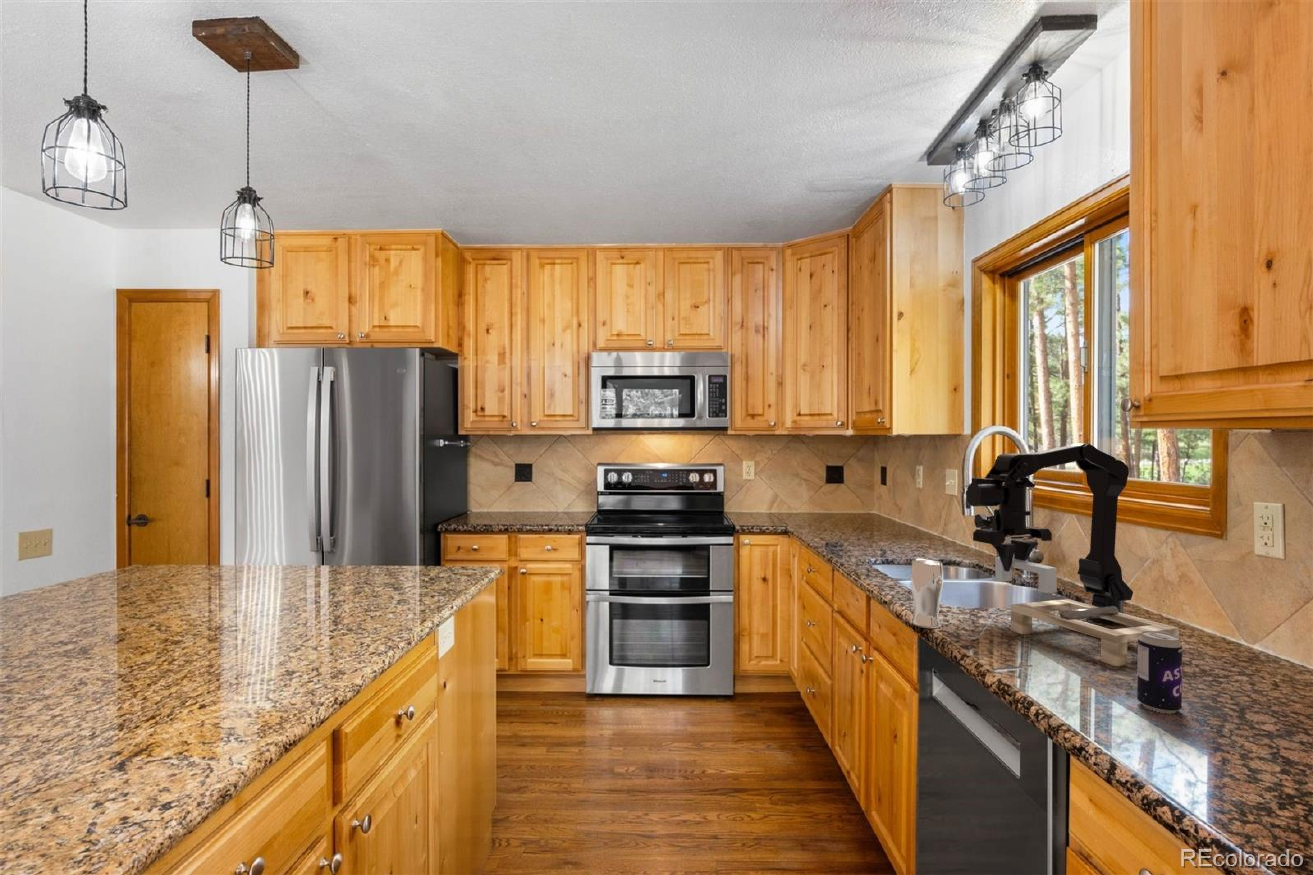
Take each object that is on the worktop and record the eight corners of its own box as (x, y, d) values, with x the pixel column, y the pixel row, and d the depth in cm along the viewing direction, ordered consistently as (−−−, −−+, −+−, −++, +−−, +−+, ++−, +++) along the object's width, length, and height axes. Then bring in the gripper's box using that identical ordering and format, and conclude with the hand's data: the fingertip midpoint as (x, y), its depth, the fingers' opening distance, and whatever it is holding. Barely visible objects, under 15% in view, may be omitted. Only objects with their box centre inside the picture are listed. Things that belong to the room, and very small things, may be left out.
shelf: (1067, 624, 151) (1068, 599, 151) (1178, 657, 128) (1178, 628, 128) (1010, 630, 145) (1010, 604, 145) (1116, 666, 122) (1116, 635, 122)
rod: (1109, 614, 140) (1109, 605, 140) (1118, 616, 138) (1118, 607, 138) (1060, 619, 135) (1060, 609, 135) (1068, 621, 133) (1068, 612, 133)
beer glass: (911, 627, 146) (912, 563, 146) (909, 619, 153) (910, 557, 153) (944, 630, 144) (945, 565, 144) (940, 622, 151) (941, 559, 151)
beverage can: (1164, 717, 99) (1165, 642, 99) (1128, 703, 105) (1129, 631, 105) (1190, 713, 101) (1191, 639, 101) (1153, 699, 106) (1154, 629, 106)
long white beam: (1004, 578, 154) (1004, 556, 154) (1056, 592, 141) (1056, 567, 141) (995, 579, 153) (995, 557, 154) (1046, 593, 140) (1046, 568, 140)
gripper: (1014, 501, 161) (1014, 562, 161) (955, 503, 155) (955, 566, 155) (1053, 506, 150) (1053, 571, 150) (992, 508, 145) (992, 576, 145)
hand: (1012, 570), depth 151 cm, fingers closed on long white beam, 3 cm apart
